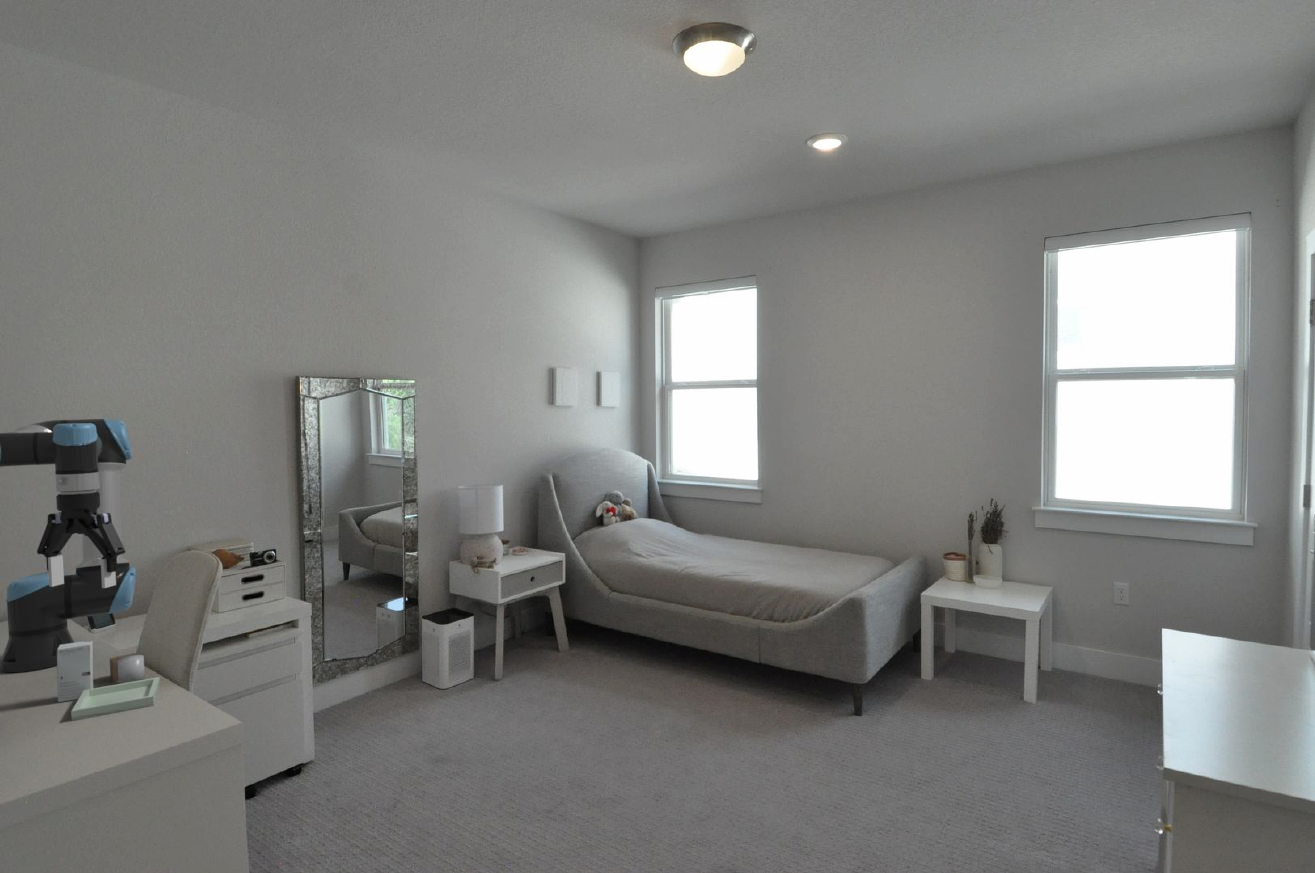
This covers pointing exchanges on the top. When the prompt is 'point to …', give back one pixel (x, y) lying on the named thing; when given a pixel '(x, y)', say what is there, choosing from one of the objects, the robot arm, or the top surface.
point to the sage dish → (116, 698)
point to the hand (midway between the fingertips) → (82, 585)
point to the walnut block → (116, 666)
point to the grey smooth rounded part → (131, 669)
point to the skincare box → (74, 669)
